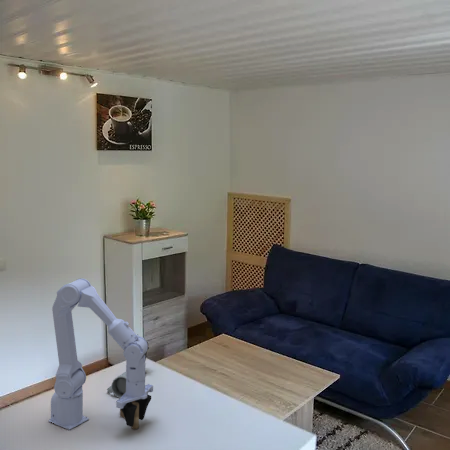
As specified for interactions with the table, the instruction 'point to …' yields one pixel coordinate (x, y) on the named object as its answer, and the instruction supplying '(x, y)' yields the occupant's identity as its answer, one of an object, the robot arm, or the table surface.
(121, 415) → the bead
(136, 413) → the dowel
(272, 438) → the table surface
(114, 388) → the ceramic mug
